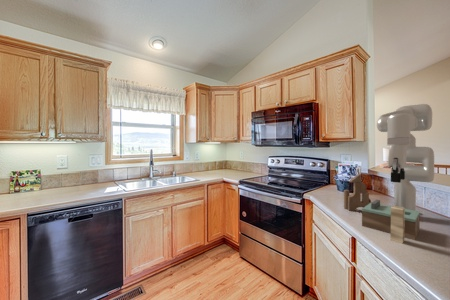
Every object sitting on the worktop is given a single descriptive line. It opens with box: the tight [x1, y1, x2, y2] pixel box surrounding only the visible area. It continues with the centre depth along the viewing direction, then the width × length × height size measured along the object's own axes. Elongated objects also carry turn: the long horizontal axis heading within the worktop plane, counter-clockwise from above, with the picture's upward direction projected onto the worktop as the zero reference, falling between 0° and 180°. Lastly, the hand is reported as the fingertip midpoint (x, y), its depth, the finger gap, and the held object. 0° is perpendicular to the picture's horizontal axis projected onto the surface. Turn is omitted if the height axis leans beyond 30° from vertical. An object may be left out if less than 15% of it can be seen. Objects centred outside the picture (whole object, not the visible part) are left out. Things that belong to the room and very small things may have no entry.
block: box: [390, 205, 405, 245], centre depth 86 cm, size 4×4×16 cm
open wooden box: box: [361, 211, 421, 241], centre depth 99 cm, size 16×20×9 cm
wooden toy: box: [343, 173, 373, 212], centre depth 128 cm, size 16×7×25 cm, turn 72°
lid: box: [361, 199, 421, 222], centre depth 99 cm, size 16×20×4 cm
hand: (397, 180), depth 86 cm, fingers open, 9 cm apart
